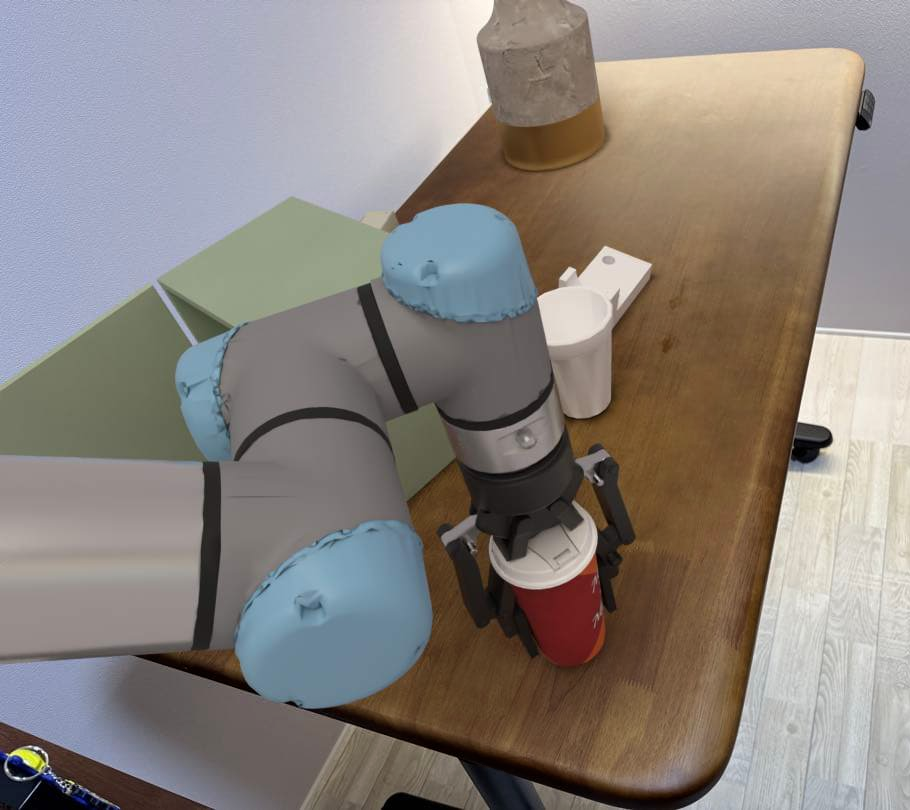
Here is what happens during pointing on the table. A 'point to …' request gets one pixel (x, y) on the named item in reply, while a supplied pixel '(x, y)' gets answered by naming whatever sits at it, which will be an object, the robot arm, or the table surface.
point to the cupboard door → (104, 390)
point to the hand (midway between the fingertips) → (566, 621)
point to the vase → (542, 83)
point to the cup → (579, 347)
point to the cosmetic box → (381, 220)
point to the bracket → (612, 278)
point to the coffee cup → (559, 590)
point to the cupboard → (299, 299)
